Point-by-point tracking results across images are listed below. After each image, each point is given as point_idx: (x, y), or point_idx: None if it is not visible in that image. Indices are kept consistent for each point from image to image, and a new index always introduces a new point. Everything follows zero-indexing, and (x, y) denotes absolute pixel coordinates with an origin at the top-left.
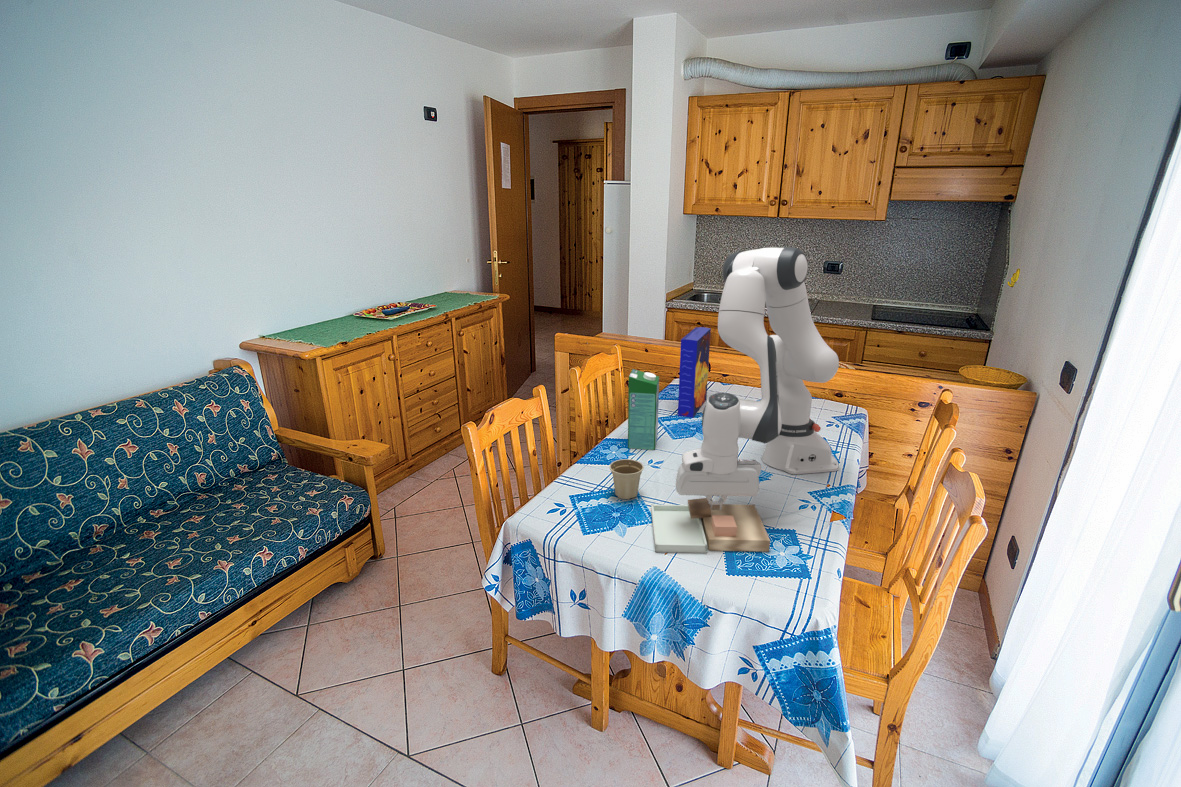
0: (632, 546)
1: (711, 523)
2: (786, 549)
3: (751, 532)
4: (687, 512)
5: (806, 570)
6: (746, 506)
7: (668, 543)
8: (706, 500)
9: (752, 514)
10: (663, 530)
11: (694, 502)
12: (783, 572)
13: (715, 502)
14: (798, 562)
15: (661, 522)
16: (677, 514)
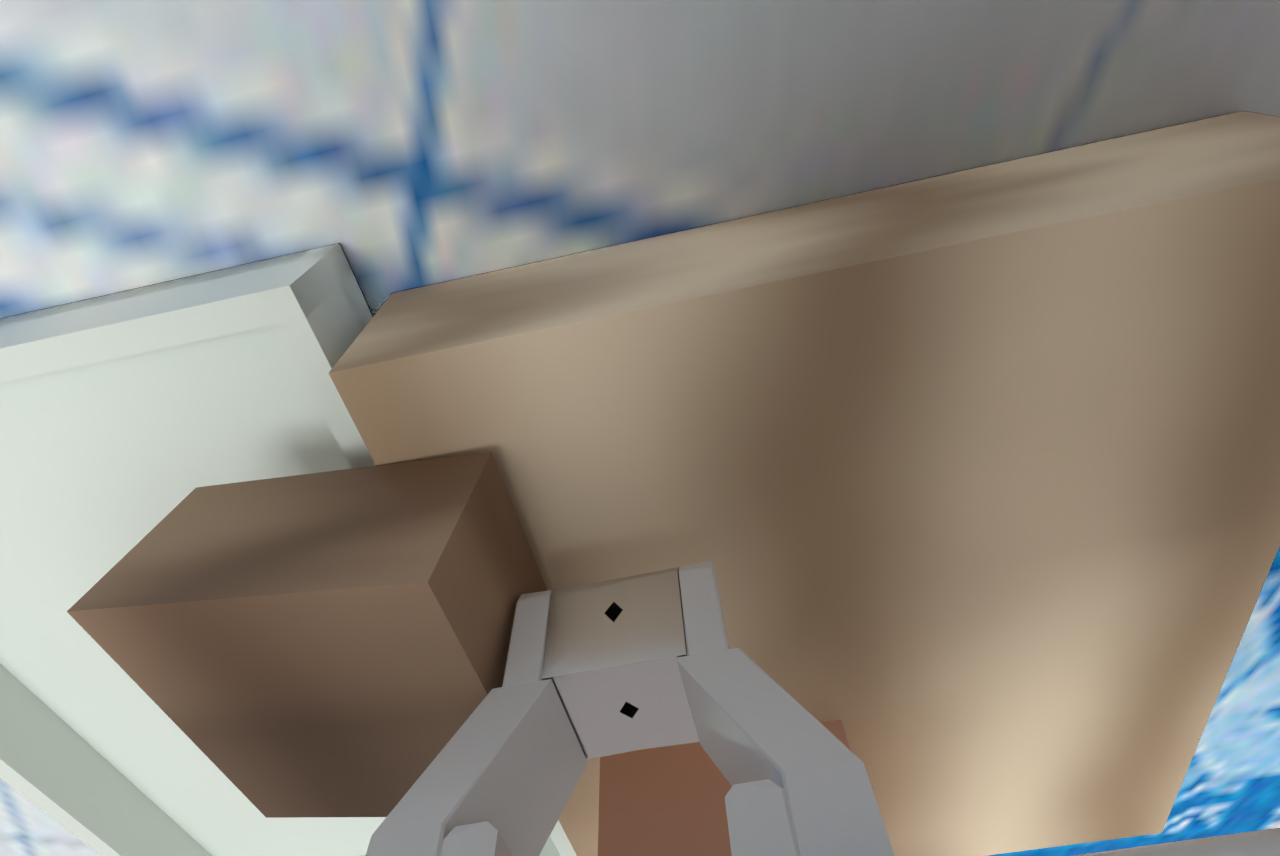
0: (43, 850)
1: (600, 766)
2: (1258, 673)
3: (1024, 783)
4: (217, 364)
5: (1262, 812)
6: (1225, 263)
7: (281, 827)
8: (438, 658)
9: (1207, 484)
10: (145, 718)
11: (239, 690)
12: (1092, 847)
13: (623, 697)
14: (1258, 768)
15: (39, 623)
16: (112, 439)
